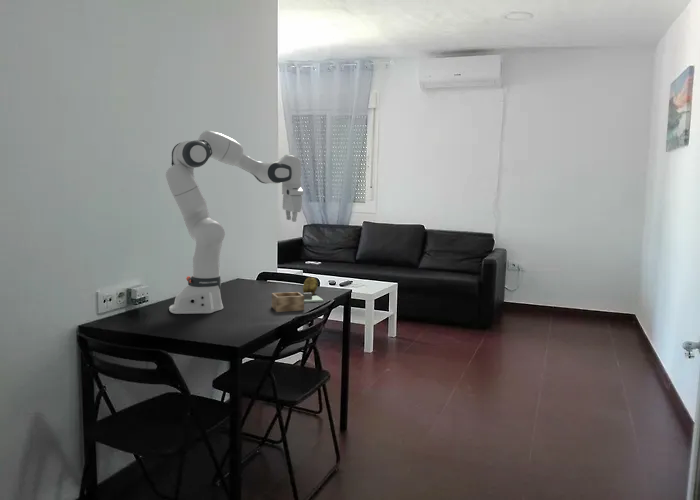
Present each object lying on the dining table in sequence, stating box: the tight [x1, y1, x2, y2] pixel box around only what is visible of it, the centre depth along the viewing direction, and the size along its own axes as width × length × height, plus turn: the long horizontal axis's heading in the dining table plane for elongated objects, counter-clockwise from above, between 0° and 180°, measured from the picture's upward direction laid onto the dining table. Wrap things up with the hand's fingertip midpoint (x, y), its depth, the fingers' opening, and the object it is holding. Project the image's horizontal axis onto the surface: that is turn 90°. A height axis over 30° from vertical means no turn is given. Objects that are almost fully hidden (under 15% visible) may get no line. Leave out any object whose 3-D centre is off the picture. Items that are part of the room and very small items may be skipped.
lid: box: [302, 292, 324, 304], centre depth 271 cm, size 13×10×4 cm
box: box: [271, 291, 305, 313], centre depth 253 cm, size 12×9×7 cm
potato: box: [302, 276, 319, 296], centre depth 287 cm, size 8×13×8 cm, turn 163°
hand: (291, 220), depth 271 cm, fingers open, 8 cm apart
